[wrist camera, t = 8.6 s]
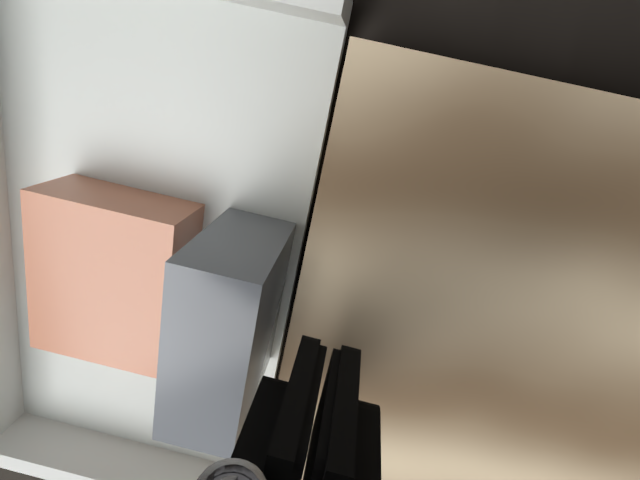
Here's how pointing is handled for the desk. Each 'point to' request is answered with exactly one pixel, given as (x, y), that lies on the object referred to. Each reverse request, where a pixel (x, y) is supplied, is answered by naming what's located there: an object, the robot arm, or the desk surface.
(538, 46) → the desk surface
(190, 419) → the slate tile
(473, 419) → the plate
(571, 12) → the desk surface
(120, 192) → the salmon pink block
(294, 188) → the box
